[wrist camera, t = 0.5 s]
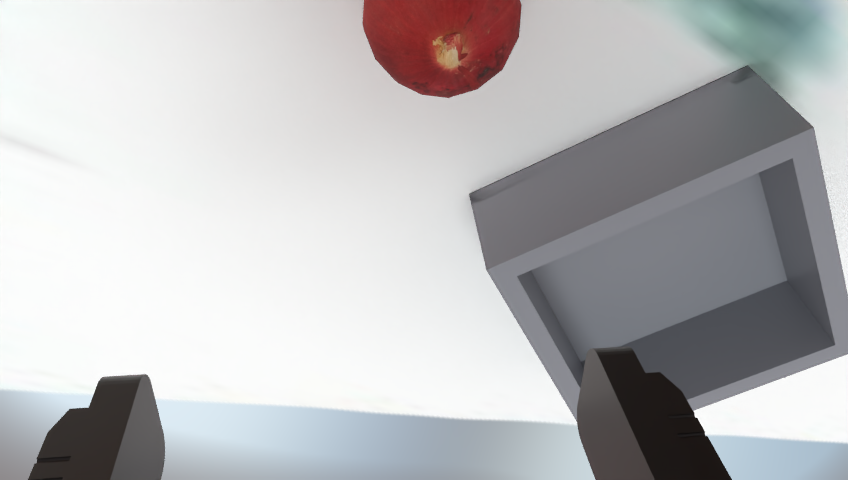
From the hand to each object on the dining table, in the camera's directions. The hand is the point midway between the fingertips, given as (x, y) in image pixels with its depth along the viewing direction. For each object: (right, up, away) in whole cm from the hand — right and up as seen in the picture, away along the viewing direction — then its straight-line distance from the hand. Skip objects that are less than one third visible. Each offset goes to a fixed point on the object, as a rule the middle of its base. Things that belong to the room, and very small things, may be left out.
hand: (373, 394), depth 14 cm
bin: (+13, +3, +25) cm, 28 cm away
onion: (+1, +13, +17) cm, 22 cm away
